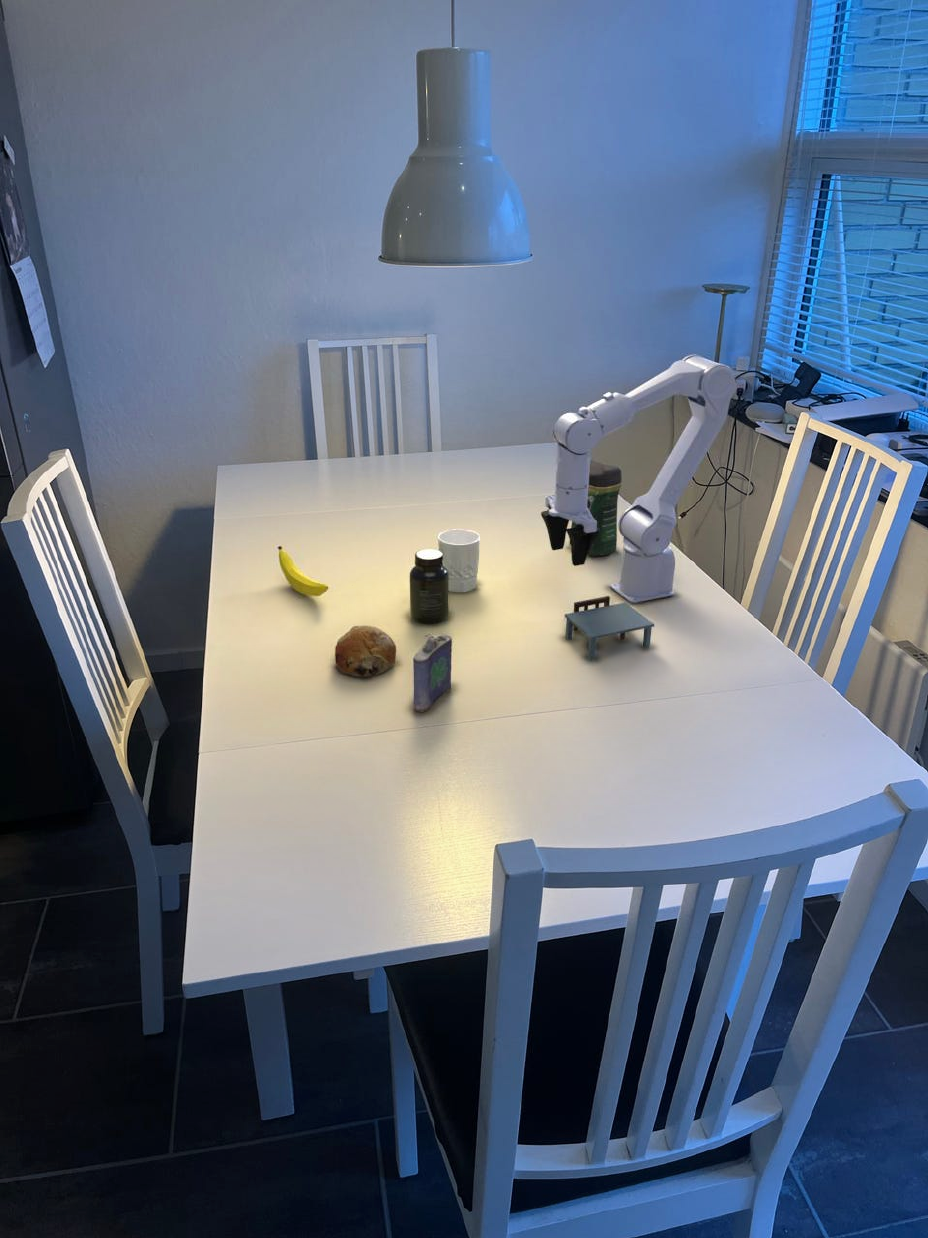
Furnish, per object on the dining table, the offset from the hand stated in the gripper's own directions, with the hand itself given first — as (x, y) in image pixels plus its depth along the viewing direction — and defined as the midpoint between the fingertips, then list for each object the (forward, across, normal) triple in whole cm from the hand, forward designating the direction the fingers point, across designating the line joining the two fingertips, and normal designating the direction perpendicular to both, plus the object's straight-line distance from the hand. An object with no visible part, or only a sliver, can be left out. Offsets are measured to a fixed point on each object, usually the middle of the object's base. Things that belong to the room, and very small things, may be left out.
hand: (567, 556), depth 172 cm
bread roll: (+9, +7, -41) cm, 43 cm away
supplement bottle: (+9, -5, -25) cm, 27 cm away
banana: (+9, -23, -43) cm, 49 cm away
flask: (+9, +21, -35) cm, 42 cm away
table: (+9, +16, -1) cm, 19 cm away
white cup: (+9, -15, -15) cm, 23 cm away
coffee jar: (+10, -20, +18) cm, 29 cm away
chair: (+9, +14, -1) cm, 17 cm away
